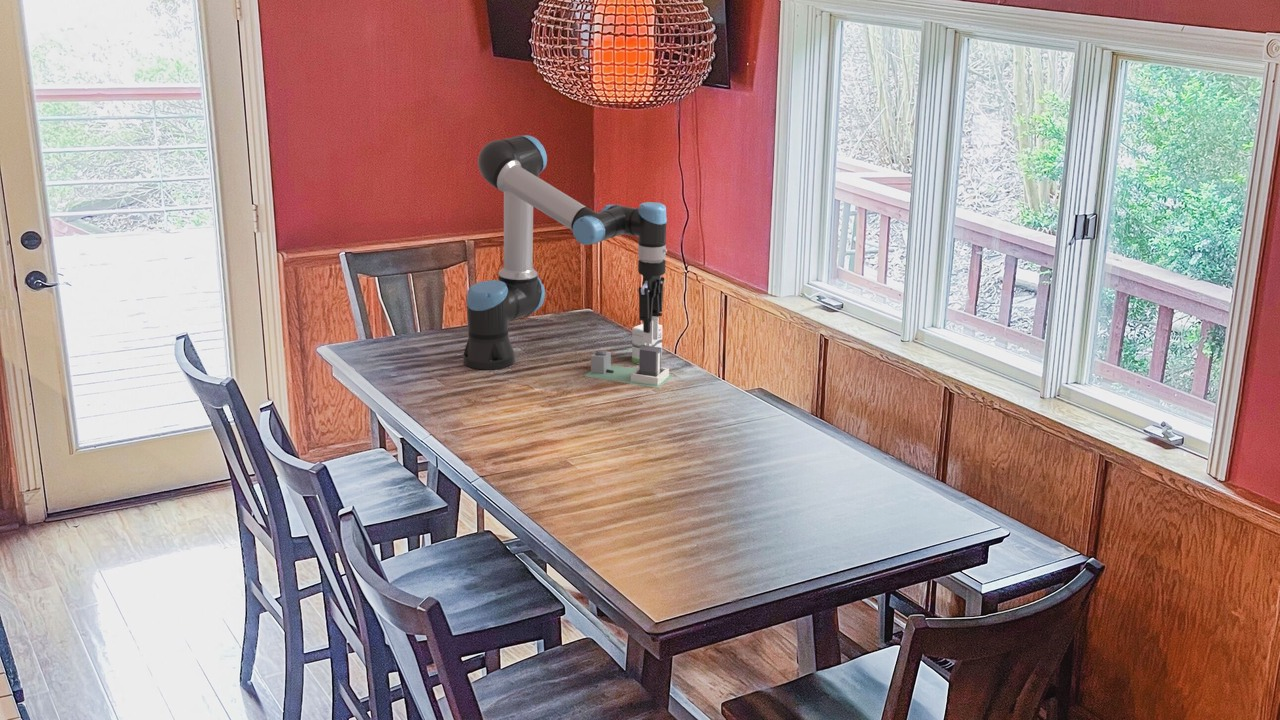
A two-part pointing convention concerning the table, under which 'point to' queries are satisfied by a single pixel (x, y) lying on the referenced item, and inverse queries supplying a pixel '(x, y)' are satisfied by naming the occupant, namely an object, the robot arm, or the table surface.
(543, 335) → the table surface
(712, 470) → the table surface
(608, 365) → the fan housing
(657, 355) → the plug
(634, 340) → the ink box
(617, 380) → the board
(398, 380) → the table surface
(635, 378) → the white square frame
